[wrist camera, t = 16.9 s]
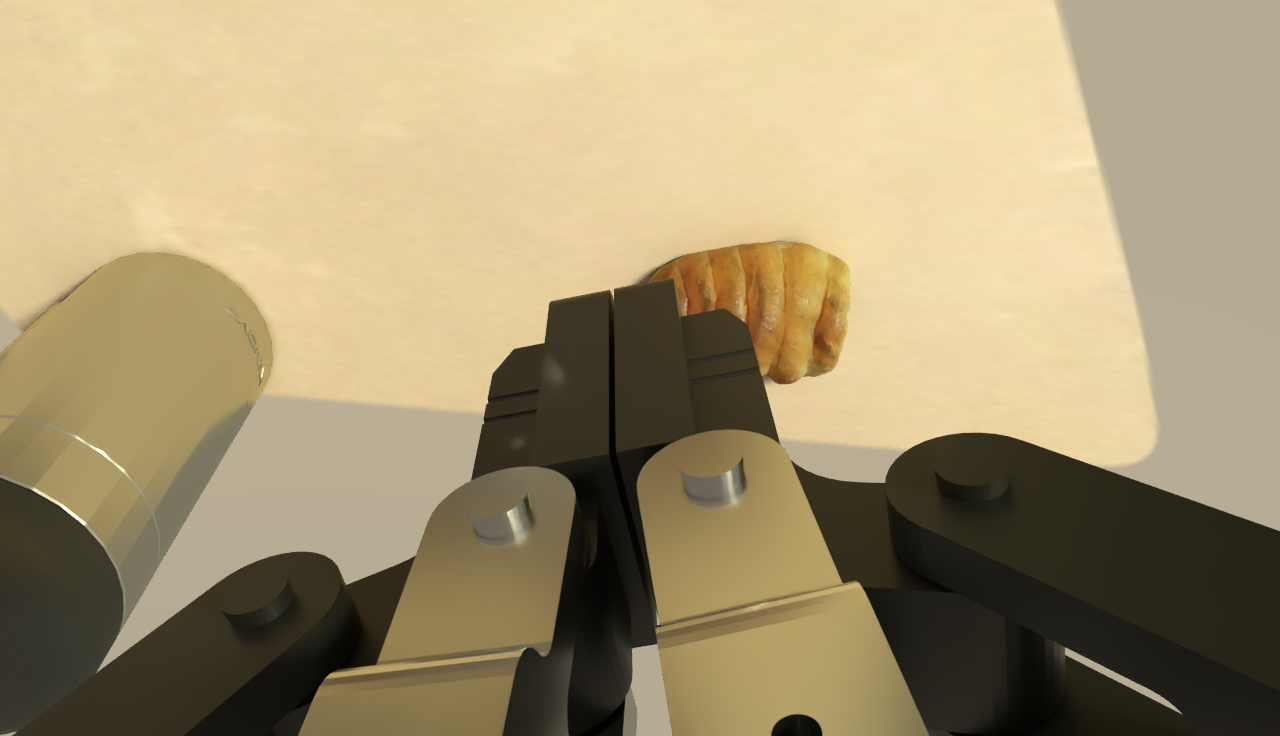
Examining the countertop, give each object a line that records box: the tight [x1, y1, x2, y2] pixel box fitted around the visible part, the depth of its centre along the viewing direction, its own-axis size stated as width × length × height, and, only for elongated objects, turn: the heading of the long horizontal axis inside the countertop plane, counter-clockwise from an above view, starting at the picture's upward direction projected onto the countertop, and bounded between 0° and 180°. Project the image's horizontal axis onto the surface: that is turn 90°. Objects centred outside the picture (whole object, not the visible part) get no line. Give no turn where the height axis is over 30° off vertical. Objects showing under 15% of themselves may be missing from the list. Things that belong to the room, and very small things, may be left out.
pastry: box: [649, 241, 850, 384], centre depth 47 cm, size 9×7×4 cm
